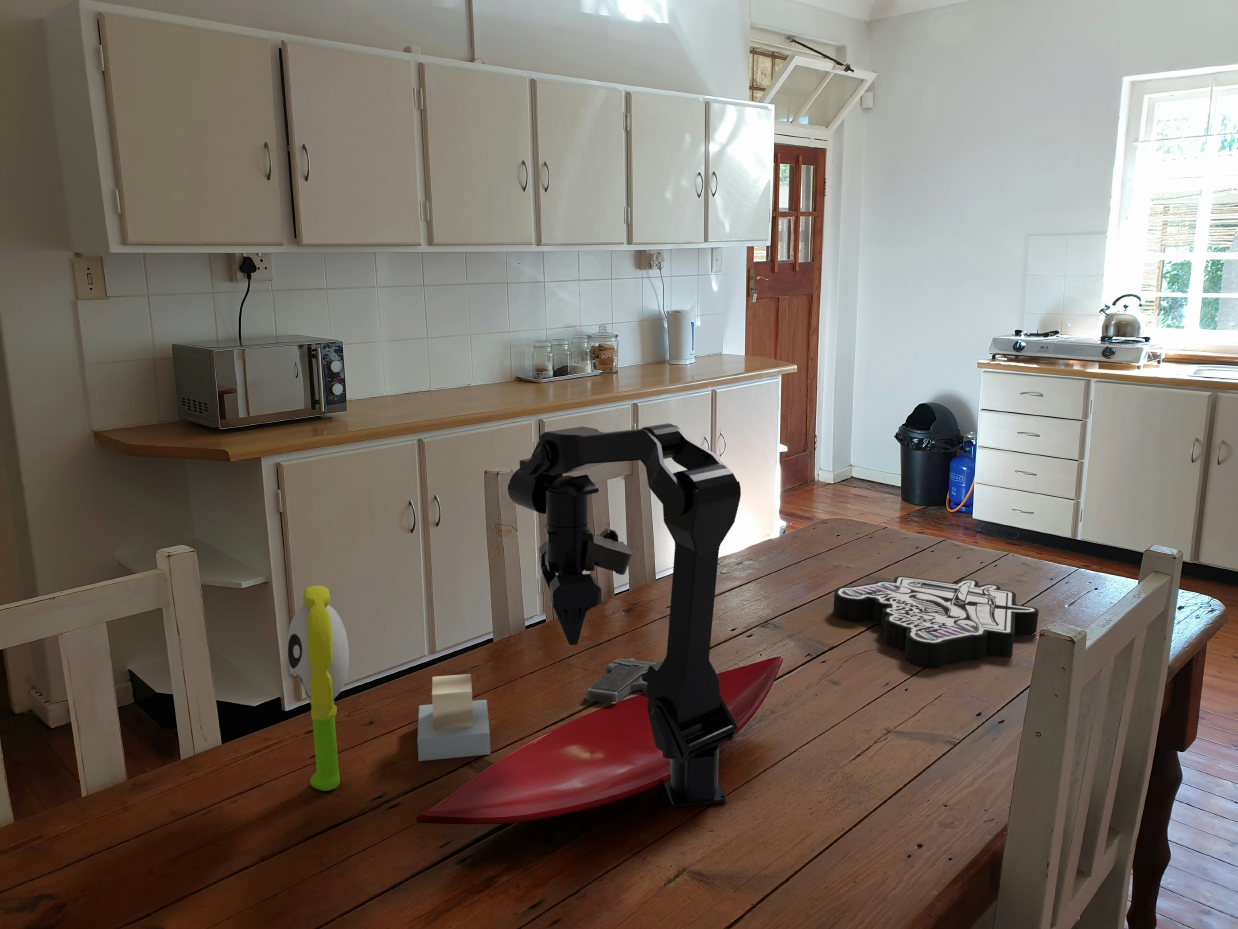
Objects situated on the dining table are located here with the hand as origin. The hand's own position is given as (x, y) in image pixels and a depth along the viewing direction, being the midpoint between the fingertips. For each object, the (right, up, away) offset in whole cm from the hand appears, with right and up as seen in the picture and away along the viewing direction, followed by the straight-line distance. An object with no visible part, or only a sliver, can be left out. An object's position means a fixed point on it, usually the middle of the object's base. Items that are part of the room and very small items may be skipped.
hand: (568, 630), depth 126 cm
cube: (-15, -11, -6) cm, 19 cm away
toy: (-28, -16, -15) cm, 36 cm away
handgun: (+12, -11, +9) cm, 19 cm away
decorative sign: (+63, -6, +32) cm, 71 cm away
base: (-15, -13, -5) cm, 21 cm away
